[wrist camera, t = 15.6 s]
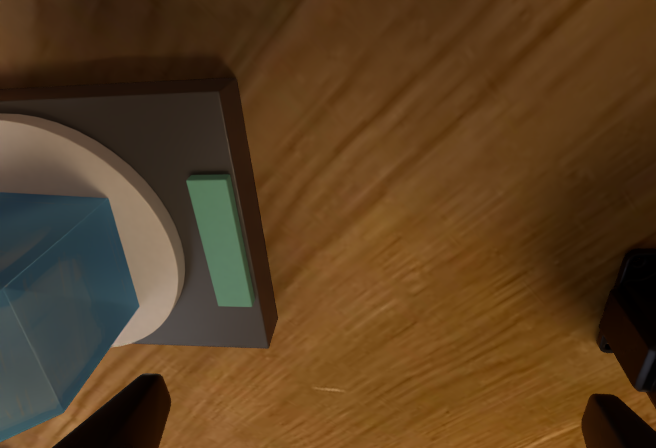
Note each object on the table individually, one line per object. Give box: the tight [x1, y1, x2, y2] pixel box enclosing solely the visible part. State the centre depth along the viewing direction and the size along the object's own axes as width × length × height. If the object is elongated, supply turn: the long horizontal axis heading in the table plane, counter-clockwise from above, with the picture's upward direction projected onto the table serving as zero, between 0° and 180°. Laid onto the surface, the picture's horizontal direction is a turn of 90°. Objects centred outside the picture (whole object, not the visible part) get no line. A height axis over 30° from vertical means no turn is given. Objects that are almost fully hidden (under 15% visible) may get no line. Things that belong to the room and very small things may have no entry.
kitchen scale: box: [0, 78, 278, 349], centre depth 23 cm, size 18×14×3 cm
